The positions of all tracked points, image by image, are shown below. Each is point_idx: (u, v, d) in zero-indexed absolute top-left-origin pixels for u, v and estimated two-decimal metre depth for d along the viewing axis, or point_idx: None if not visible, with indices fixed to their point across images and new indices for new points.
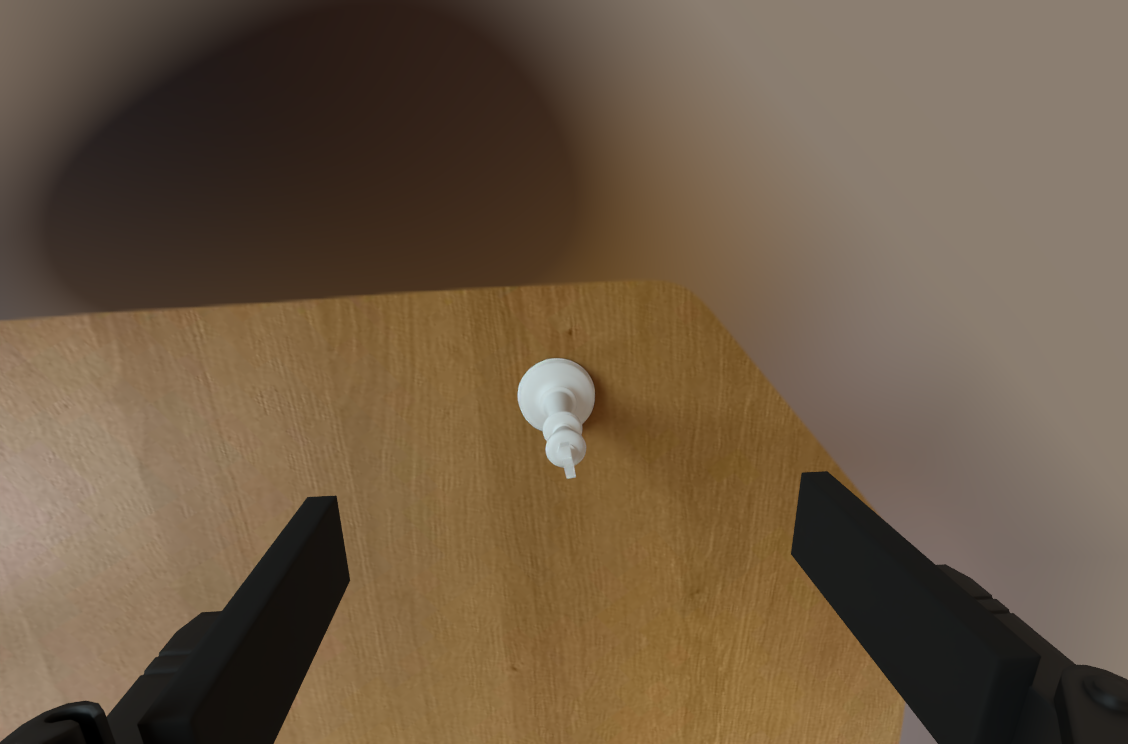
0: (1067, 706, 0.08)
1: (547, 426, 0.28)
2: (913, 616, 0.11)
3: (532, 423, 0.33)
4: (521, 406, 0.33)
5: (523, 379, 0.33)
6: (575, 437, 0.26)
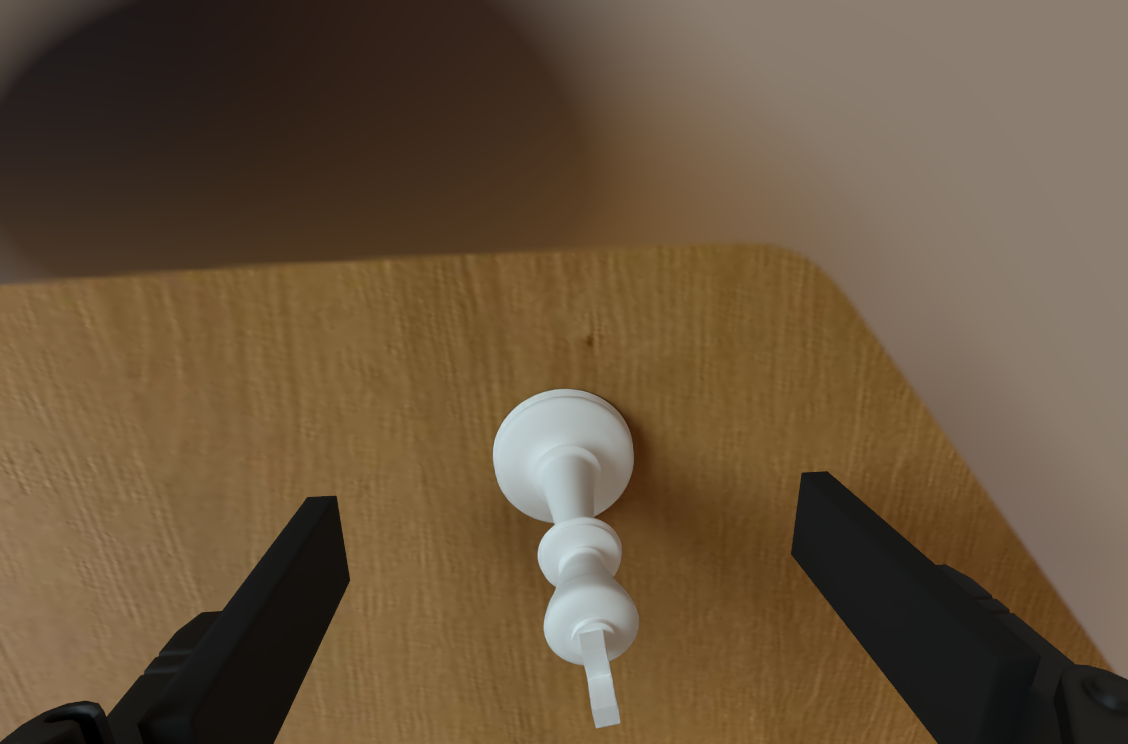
0: (1067, 706, 0.08)
1: (547, 550, 0.13)
2: (913, 616, 0.11)
3: (519, 507, 0.18)
4: (499, 477, 0.18)
5: (503, 428, 0.18)
6: (615, 604, 0.11)
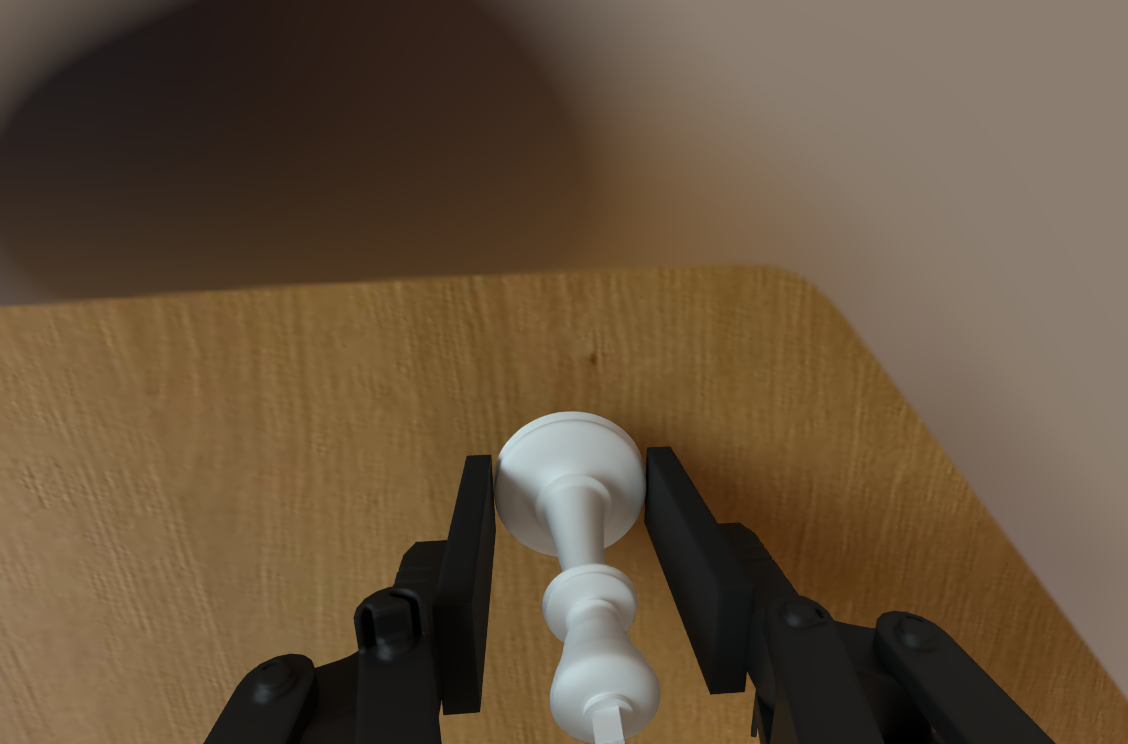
0: (772, 637, 0.10)
1: (553, 602, 0.11)
2: (689, 562, 0.12)
3: (521, 540, 0.17)
4: (499, 508, 0.16)
5: (503, 454, 0.16)
6: (633, 677, 0.09)
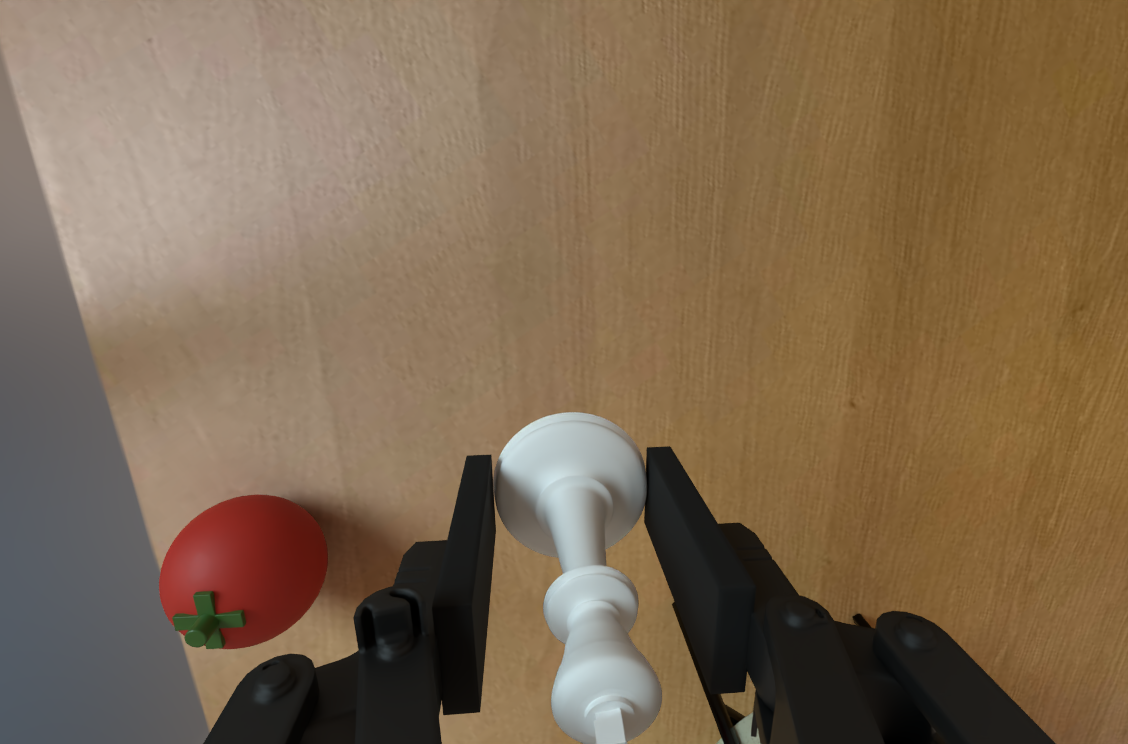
0: (772, 637, 0.10)
1: (554, 603, 0.11)
2: (689, 562, 0.12)
3: (522, 541, 0.17)
4: (500, 509, 0.16)
5: (504, 455, 0.16)
6: (635, 679, 0.09)
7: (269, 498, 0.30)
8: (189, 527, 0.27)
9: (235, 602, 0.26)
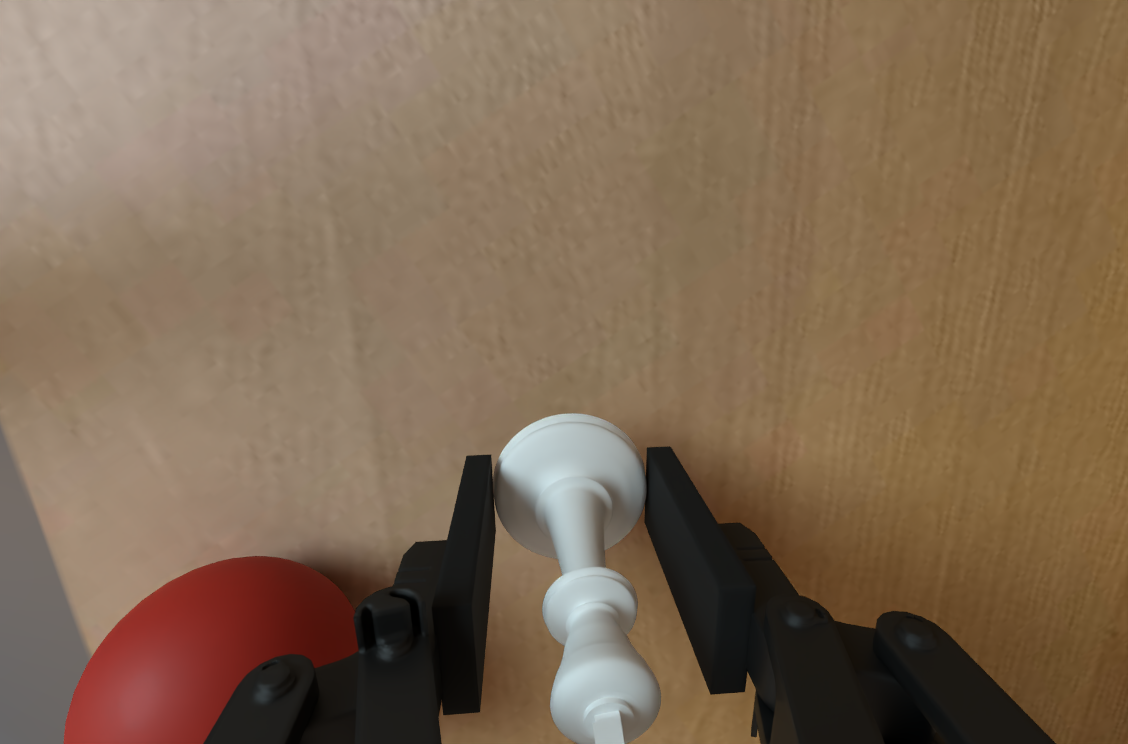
0: (772, 637, 0.10)
1: (553, 605, 0.11)
2: (690, 562, 0.12)
3: (522, 542, 0.17)
4: (499, 510, 0.16)
5: (503, 456, 0.16)
6: (634, 681, 0.09)
7: (268, 565, 0.17)
8: (121, 629, 0.15)
9: None
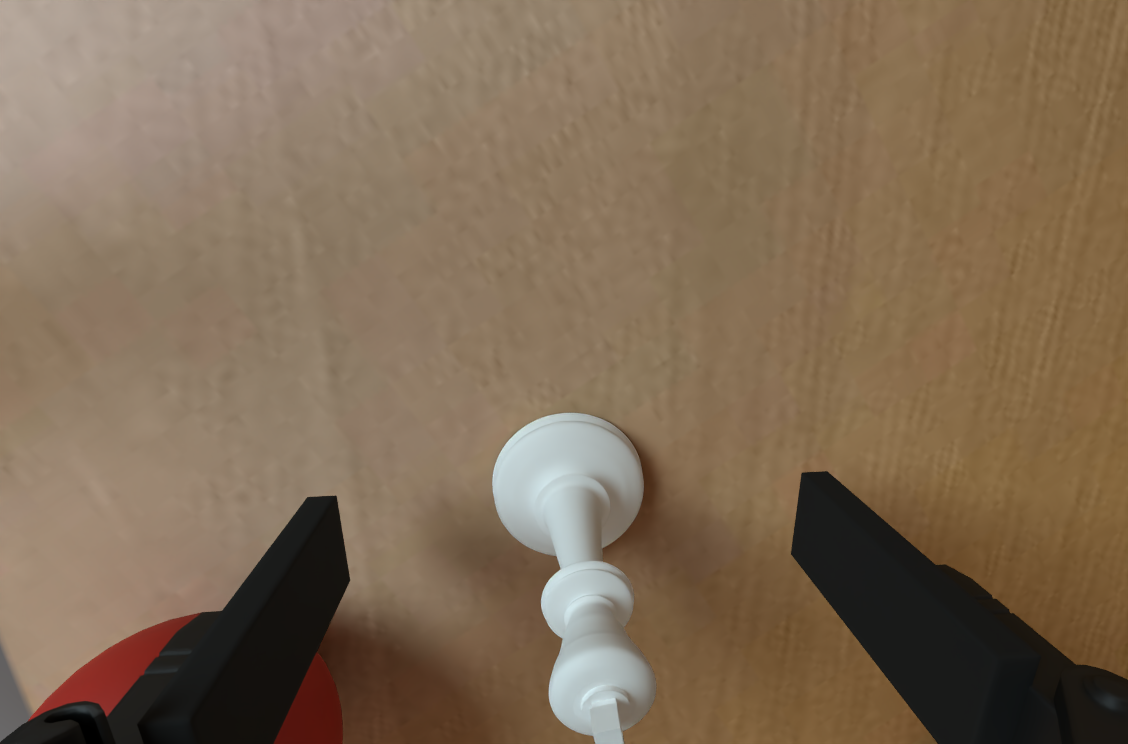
0: (1067, 706, 0.08)
1: (552, 598, 0.12)
2: (913, 615, 0.11)
3: (521, 540, 0.17)
4: (499, 508, 0.17)
5: (503, 454, 0.17)
6: (630, 669, 0.09)
7: None
8: None
9: None
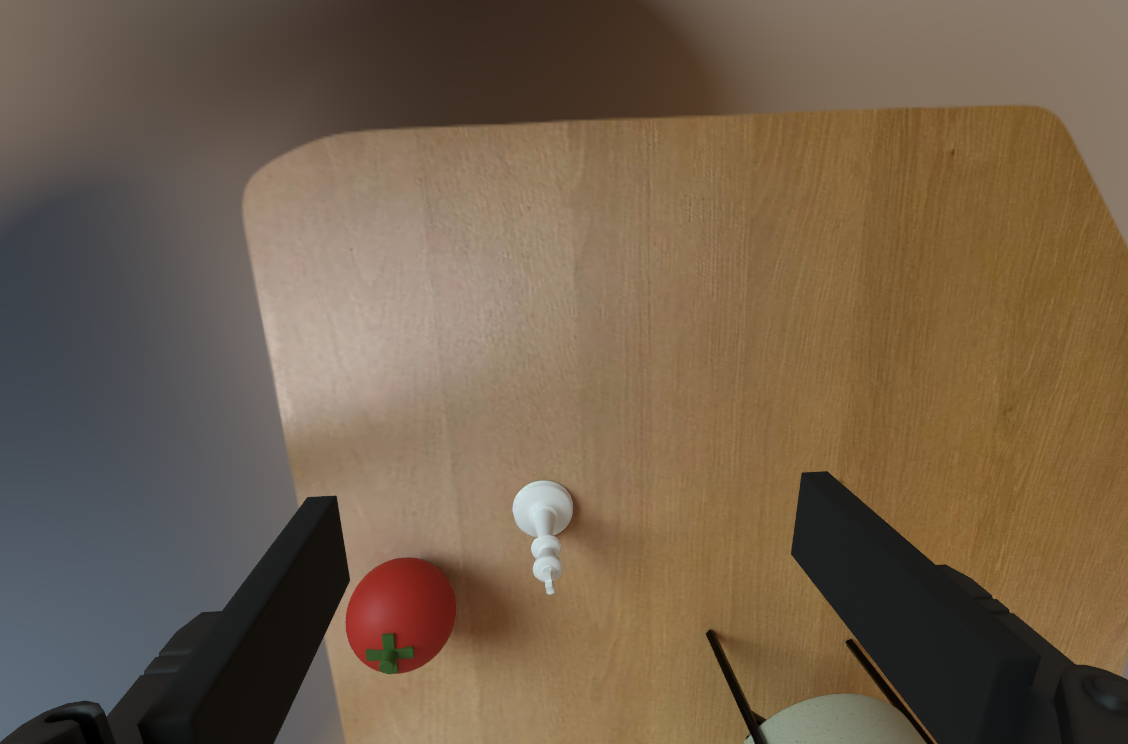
0: (1067, 706, 0.08)
1: (534, 546, 0.37)
2: (913, 616, 0.11)
3: (524, 530, 0.43)
4: (515, 518, 0.42)
5: (517, 497, 0.42)
6: (554, 561, 0.35)
7: (416, 561, 0.40)
8: (367, 585, 0.38)
9: (408, 640, 0.36)
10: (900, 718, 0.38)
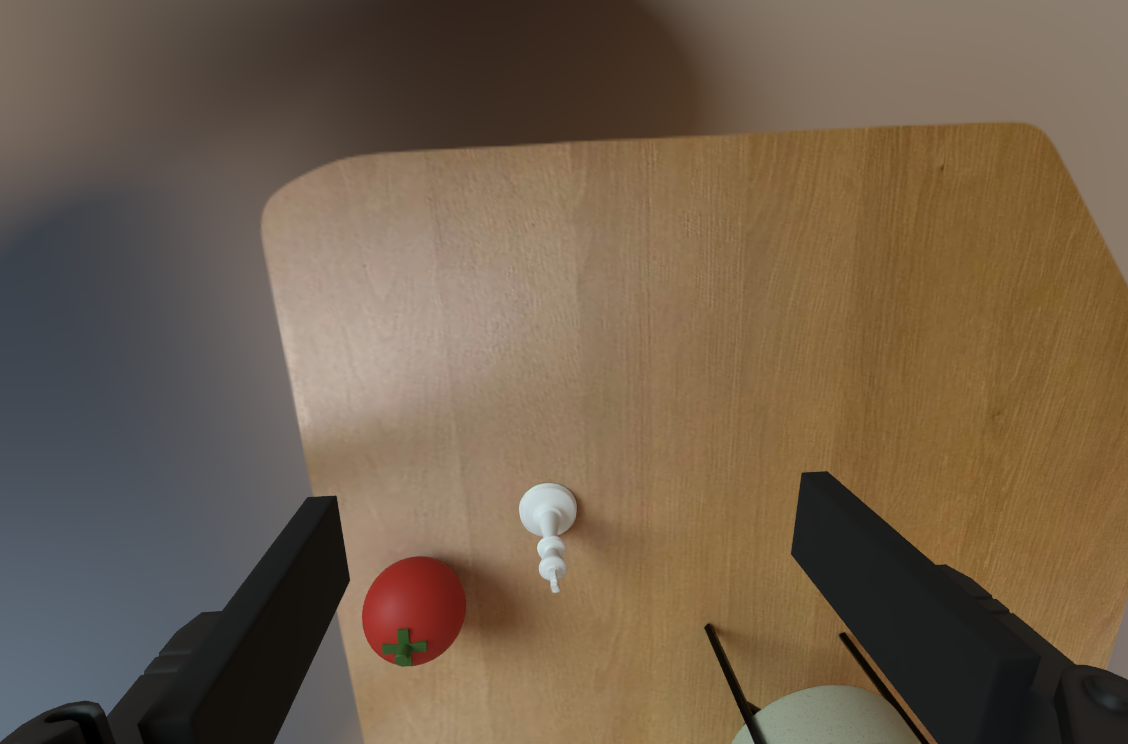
0: (1067, 706, 0.08)
1: (540, 546, 0.39)
2: (913, 615, 0.11)
3: (530, 530, 0.45)
4: (522, 518, 0.44)
5: (523, 498, 0.44)
6: (559, 561, 0.37)
7: (428, 560, 0.43)
8: (382, 583, 0.40)
9: (421, 635, 0.39)
10: (887, 708, 0.40)
